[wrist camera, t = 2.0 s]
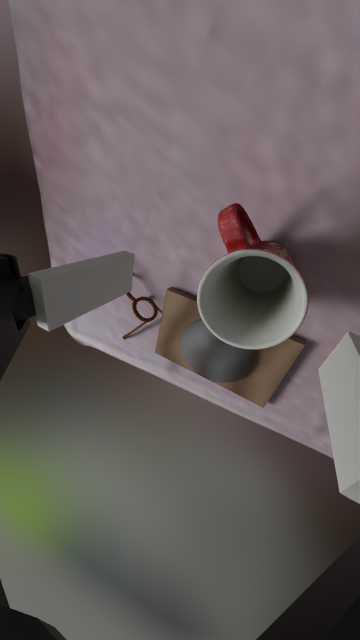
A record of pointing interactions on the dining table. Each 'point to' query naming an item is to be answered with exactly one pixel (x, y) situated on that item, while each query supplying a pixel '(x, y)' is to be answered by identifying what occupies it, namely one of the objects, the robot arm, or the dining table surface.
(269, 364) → the board
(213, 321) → the mug
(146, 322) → the glasses
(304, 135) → the dining table surface
